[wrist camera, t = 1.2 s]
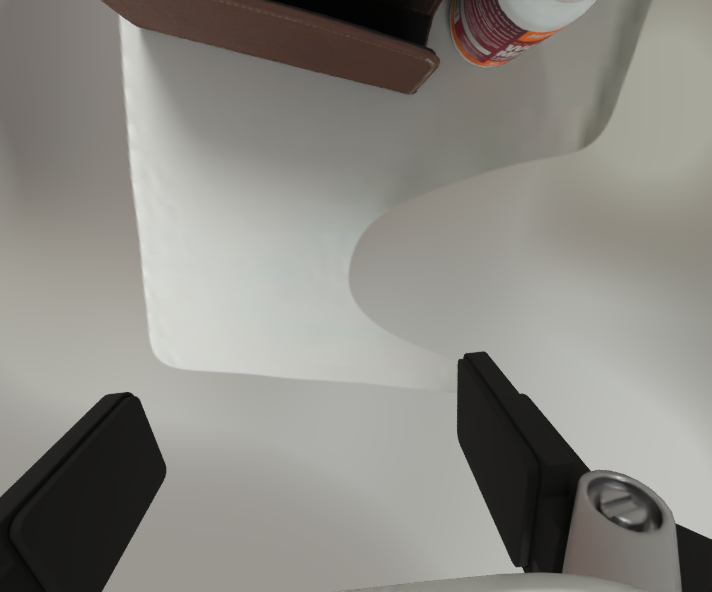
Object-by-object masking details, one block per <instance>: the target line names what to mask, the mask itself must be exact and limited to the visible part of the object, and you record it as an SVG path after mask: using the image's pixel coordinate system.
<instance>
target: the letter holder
mask: <svg viewBox="0 0 712 592" xmlns="http://www.w3.org/2000/svg"><path fill="white" fill-rule="evenodd" d="M101 1H103V2H104V3H105V4H107V5H108V6H109V7H111V8H112V9H113V10H114V11H116V12H117V13H118V14H120V15H121V16H122V17H123V18H125V19H126V20H128V21H129V22H131V23H132V24H134V25H135V26H137V27H140V28H145V29H149V30H153V31H157V32H161V33H165V34H169V35H173V36H177V37H180V38H185V39H189V40H192V41H197V42H202V43H205V44H209V45H213V46H216V47H221V48H225V49H229V50H233V51H236V52H241V53H244V54H248V55H252V56H257V57H261V58H264V59H268V60H272V61H276V62H280V63H284V64H288V65H292V66H296V67H300V68H304V69H308V70H312V71H315V72H321V73H324V74H328V75H331V76H336V77H341V78H345V79H348V80H353V81H356V82H361V83H365V84H369V85H373V86H378V87H381V88H386V89H390V90H393V91H397V92H401V93H404V94H414V93H416V92H417V89H418V88H419V87H420V86H421V85H422V84H423V83H424V82H425V80H426V79H427V78H428V77H429V76H430V75H431V74H432V73H433V72H434V71H435V70H436V69H437V68H438V66H439V64H440V59H439V58H438V57H437V56H436V53H435V52H434V50H432V49H430V48H428V47H426V44H427V40H428V35H429V32H430V28H431V24H432V20H433V16H434V14H435V12H436V11H437V9H438V7H439V5H440V3H441V2H442V1H443V0H101Z"/></svg>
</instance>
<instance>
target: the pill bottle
mask: <svg viewBox="0 0 712 592" xmlns="http://www.w3.org/2000/svg"><path fill="white" fill-rule="evenodd" d="M596 1H597V0H453V1H452V5H451V10H450V20H449V22H450V32H451V36H452V40H453V43H454V45H455V47H456V49H457V51H458V52H459V54H460V55H461V56H462V57H463V58H464V59H465V60H466V61H468V62H469V63H470V64H472V65H475V66H478V67H483V68H490V67H496V66H499V65H502V64H504V63H506V62H508V61H510V60H512V59H513V58H515V57H517V56H518V55H520V54H521V53H523V52H525V51H527V50H528V49H530V48H531V47H533V46H535V45H536V44H538V43H540V42H541V41H543V40H544V39H546V38H548V37H549V36H551V35H552V34H554V33H556V32H557V31H559V30H560V29H562V28H564V27H565V26H567V25H568V24H570V23H571V22H573V21H575V20H576V19H577V18H579V17H580V16H582V15H583V14H584V13H585V12H586V11H587V10H588V9H589V8H590V7H591V6H592V5H593V4H594V3H595V2H596Z"/></svg>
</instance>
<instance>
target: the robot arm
mask: <svg viewBox="0 0 712 592" xmlns="http://www.w3.org/2000/svg"><path fill="white" fill-rule="evenodd" d="M457 397H458V398H457V434H458V440H459V443H460V446H461V448H462V450H463V452H464V455H465V457H466V459H467V462H468V464H469V466H470V468H471V471H472V473H473V475H474V477H475V480H476V482H477V484H478V486H479V489H480V491H481V493H482V495H483V498H484V500H485V502H486V504H487V507H488V509H489V511H490V513H491V516H492V518H493V520H494V522H495V525H496V527H497V529H498V531H499V534H500V536H501V538H502V540H503V543H504V545H505V547H506V550H507V552H508V554H509V556H510V559H511V561H512V563H513V564H514V565H515V566H516V567H522V568H523V570H524V572H525V573H519V574H518V573H517V574H497V575H486V576H476V577H466V578H456V579H446V580H435V581H424V582H415V583H407V584H398V585H390V586H382V587H372V588H364V589H355V590H347V591H338V592H712V539H709V538H707V537H705V536H703V535H700V534H698V533H696V532H694V531H691V530H689V529H687V528H685V527H682V526H680V525H678V524H676V523H675V520H674V517H673V514H672V512H671V510H670V509H669V507H668V506H667V504H666V503H665V502H664V501H663V499H662V498H661V497H659V496H658V495H657V494H656V493H655V492H654V491H653V490H652V489H650V488H649V487H647V486H646V485H644V484H643V483H641V482H639V481H638V480H636V479H633V478H631V477H629V476H627V475H624V474H621V473H617V472H613V471H607V470H595V471H590V470H589V468H588V467H587V466H586V465H585V464H584V463H583V461H582V460H581V459H580V458H579V456H578V455H577V454H576V453H575V452H574V450H573V449H572V448H571V447H570V446H569V445H568V443H567V442H566V441H565V440H564V439H563V438H562V436H561V435H560V434H559V433H558V431H557V430H556V429H555V428H554V427H553V425H552V424H551V423H550V422H549V421H548V420H547V418H546V417H545V416H544V415H543V413H542V412H541V411H540V410H539V409H538V407H537V406H536V405H535V404H534V403H533V402H532V400H531V399H530V398H529V397H528V396H527V395H525V394H519V393H518V391H517V390H516V389H515V387H514V386H513V385H512V384H511V382H510V381H509V380H508V379H507V378H506V376H505V375H504V374H503V373H502V371H501V370H500V369H499V368H498V366H497V365H496V364H495V363H494V362H493V360H492V359H491V358H490V357H489V355H488V354H487V353H486V352H475V353H466V354H464V357H463V359H459V360H458V388H457ZM165 476H166V465H165V462H164V460H163V458H162V454H161V452H160V450H159V448H158V444H157V442H156V439H155V437H154V434H153V432H152V430H151V427H150V424H149V422H148V419H147V417H146V414H145V412H144V409H143V407H142V404H141V402H140V400H139V398H138V397H135V396H134V395H133V394H132V393H129V392H124V393H115V394H108V395H105V396H104V397H103V398H102V399H101V400H100V401H99V402H98V403H96V404H95V406H93V407H92V408H91V409H90V410H89V411H88V412H87V413H86V414H85V415H84V416H83V417H82V418H81V419H80V420H79V421H78V422H77V423H76V424H75V425H74V426H73V427H72V428H71V429H70V430H69V431H68V432H67V433H66V434H65V435H64V436H63V437H62V438H61V439H60V440H59V441H58V442H57V443H55V444H54V445H53V446H52V448H50V449H49V450H48V451H47V452H46V453H45V454H44V455H43V456H42V457H41V458H40V459H39V460H38V461H37V462H36V463H35V464H34V465H33V466H32V467H31V468H30V469H29V470H28V471H27V472H26V473H25V474H24V475H23V476H22V477H21V478H20V479H19V480H18V481H17V482H16V483H14V485H12V487H10V488H9V489H8V490H7V491H6V492H5V493H4V494H3V495H2V496H1V497H0V592H102V590H103V589H104V587H105V585H106V583H107V581H108V580H109V578H110V576H111V574H112V573H113V571H114V569H115V567H116V565H117V564H118V562H119V560H120V558H121V556H122V554H123V553H124V551H125V549H126V547H127V545H128V544H129V542H130V540H131V538H132V537H133V535H134V533H135V531H136V529H137V527H138V526H139V524H140V522H141V520H142V518H143V517H144V515H145V513H146V511H147V510H148V508H149V506H150V504H151V502H152V501H153V499H154V497H155V495H156V493H157V491H158V490H159V488H160V486H161V484H162V483H163V481H164V478H165Z"/></svg>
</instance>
